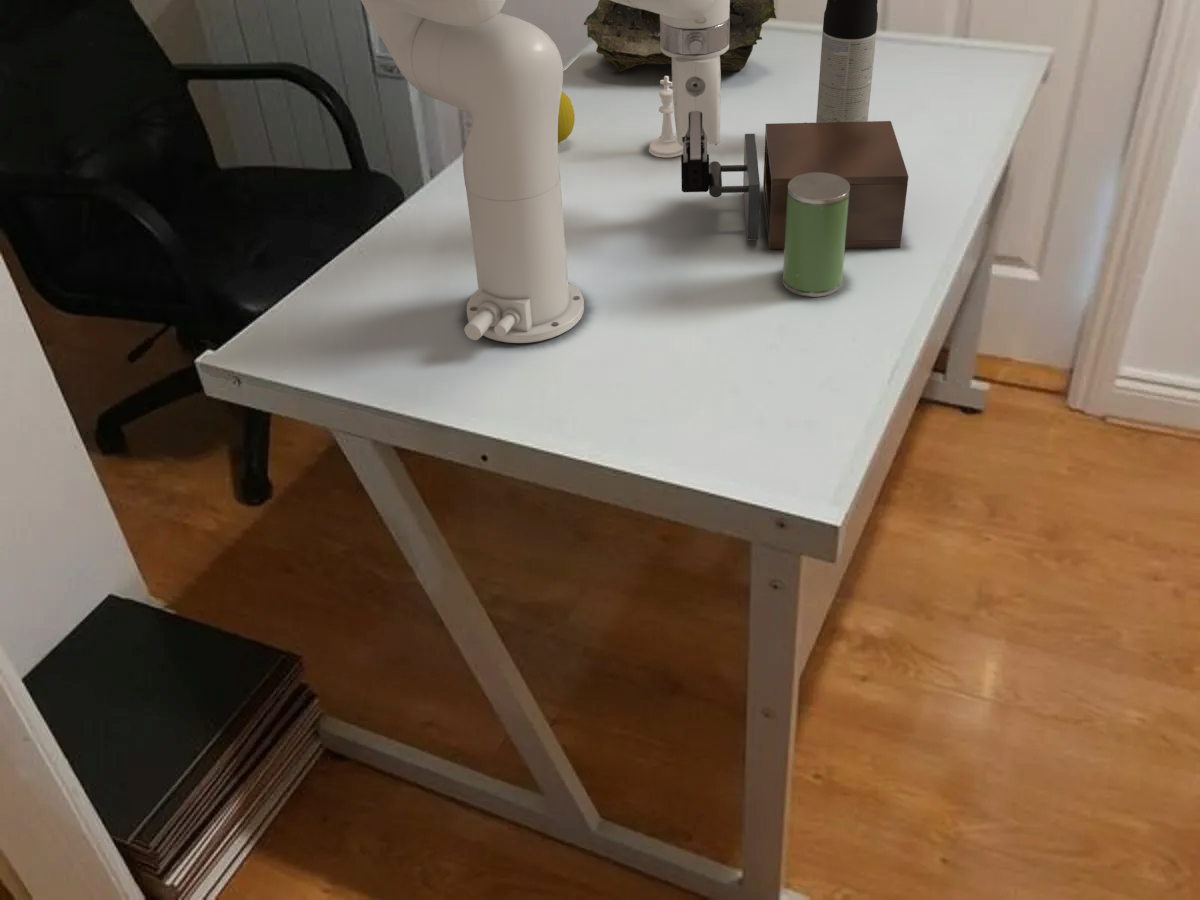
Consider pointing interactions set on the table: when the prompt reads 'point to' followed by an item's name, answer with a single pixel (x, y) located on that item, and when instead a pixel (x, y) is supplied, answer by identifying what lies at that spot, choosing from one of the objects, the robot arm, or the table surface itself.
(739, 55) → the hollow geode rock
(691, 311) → the table surface
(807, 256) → the tin can
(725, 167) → the drawer
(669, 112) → the chess piece
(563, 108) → the lemon
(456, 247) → the table surface
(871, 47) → the spray can
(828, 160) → the cabinet
